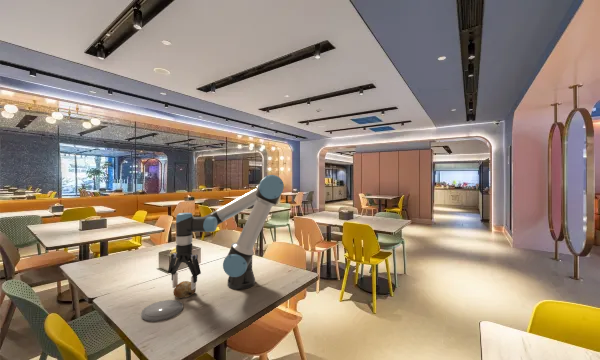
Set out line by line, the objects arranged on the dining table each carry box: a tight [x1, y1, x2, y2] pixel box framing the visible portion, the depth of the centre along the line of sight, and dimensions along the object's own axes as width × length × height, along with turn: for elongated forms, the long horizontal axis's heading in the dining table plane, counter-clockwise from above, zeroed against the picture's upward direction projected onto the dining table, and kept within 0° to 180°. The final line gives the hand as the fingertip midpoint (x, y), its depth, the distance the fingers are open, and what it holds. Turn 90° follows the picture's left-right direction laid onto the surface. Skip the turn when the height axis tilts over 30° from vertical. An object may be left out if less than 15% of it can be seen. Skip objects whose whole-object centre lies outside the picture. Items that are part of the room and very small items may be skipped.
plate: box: [140, 299, 184, 322], centre depth 111 cm, size 16×16×1 cm
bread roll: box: [173, 280, 197, 299], centre depth 127 cm, size 10×10×8 cm
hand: (184, 287), depth 127 cm, fingers closed on bread roll, 10 cm apart
